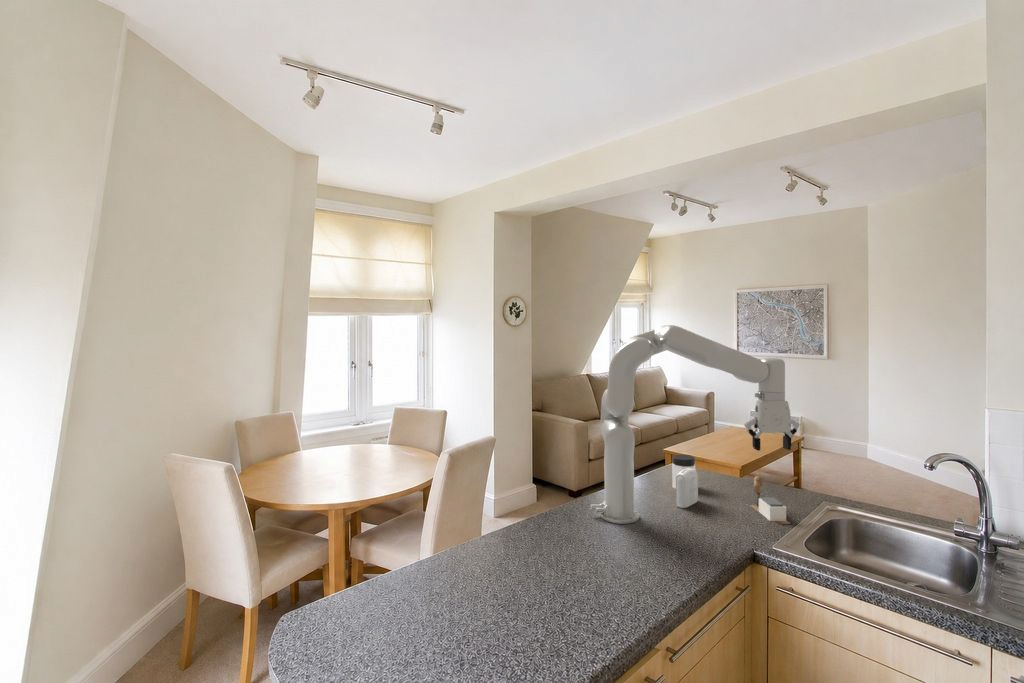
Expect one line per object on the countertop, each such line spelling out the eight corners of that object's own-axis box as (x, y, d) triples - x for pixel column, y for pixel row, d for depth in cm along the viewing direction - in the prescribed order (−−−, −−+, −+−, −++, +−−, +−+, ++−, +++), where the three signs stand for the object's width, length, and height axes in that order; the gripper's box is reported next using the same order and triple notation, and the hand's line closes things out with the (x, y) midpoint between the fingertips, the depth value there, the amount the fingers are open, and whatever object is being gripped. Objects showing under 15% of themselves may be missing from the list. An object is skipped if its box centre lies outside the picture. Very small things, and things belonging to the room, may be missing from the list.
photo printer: (688, 498, 175) (687, 464, 175) (699, 501, 172) (699, 467, 172) (674, 506, 168) (673, 471, 168) (685, 509, 165) (685, 473, 165)
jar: (674, 483, 193) (674, 453, 193) (696, 485, 189) (696, 455, 189) (670, 489, 185) (670, 458, 185) (693, 492, 181) (693, 461, 181)
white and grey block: (769, 521, 153) (769, 505, 153) (758, 511, 161) (758, 496, 161) (786, 521, 153) (786, 505, 153) (774, 511, 161) (774, 496, 161)
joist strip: (775, 524, 151) (774, 523, 151) (749, 505, 167) (749, 505, 167) (790, 524, 151) (790, 523, 151) (764, 505, 167) (764, 504, 167)
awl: (756, 507, 165) (756, 477, 164) (752, 504, 167) (752, 475, 167) (764, 507, 165) (763, 477, 164) (760, 504, 167) (759, 474, 167)
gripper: (750, 398, 152) (750, 452, 153) (805, 397, 152) (805, 451, 153) (739, 395, 160) (739, 446, 160) (791, 394, 160) (791, 446, 160)
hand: (771, 449), depth 156 cm, fingers open, 9 cm apart
